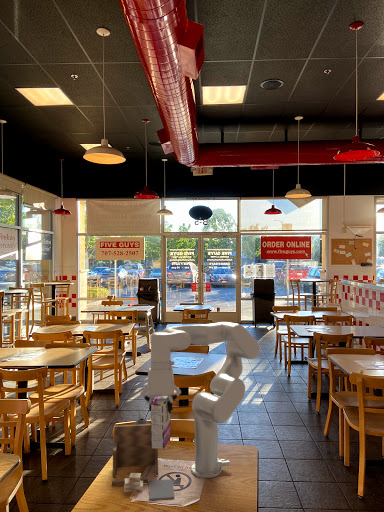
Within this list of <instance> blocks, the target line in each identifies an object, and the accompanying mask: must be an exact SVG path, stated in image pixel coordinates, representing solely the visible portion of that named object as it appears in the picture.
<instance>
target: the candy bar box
mask: <svg viewBox="0 0 384 512" xmlns="http://www.w3.org/2000/svg"><path fill="white" fill-rule="evenodd" d="M150 422H151V423H150V424H151V441H152V449H158V450H164V449H165V447H166V445H168V442H169V440H170V439H171V437H172V435H171V434H172V433H171V432H172V430H171V429H172V427H171V426H172V425H171V414H169V398H168V396H156V398H155V399H153V403H152V404H151V412H150Z"/></svg>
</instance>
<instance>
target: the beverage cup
mask: <svg viewBox="0 0 384 512" xmlns="http://www.w3.org/2000/svg"><path fill="white" fill-rule="evenodd" d="M137 410H138V419H137V420H136V421H135V422H134V424H133V425H140V424H149V422H148V421H147V419H146V418H142V417H141V412H140V408H138V409H137Z"/></svg>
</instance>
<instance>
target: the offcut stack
mask: <svg viewBox="0 0 384 512" xmlns="http://www.w3.org/2000/svg"><path fill="white" fill-rule="evenodd" d="M140 479H142V473H141V472H130V474H129V477H125V478H124V480H125V483H124V485H123V492H124V493H126V492H127V493H128V492H129V493H130V492H136V491H135V490H143V491H144V484H143V481H140Z"/></svg>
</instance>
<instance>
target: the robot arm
mask: <svg viewBox="0 0 384 512" xmlns="http://www.w3.org/2000/svg"><path fill="white" fill-rule="evenodd" d="M219 343H226V344H225V352H226V353H225V354H226V356H225V357H226V359H225V362H224V364H223V365H222V367H221V368H220V369H219V370H218V371H217V373H216V374H215V375H214V376H213V378H212V379H211V381H210V385H209V388H210V392H212V393H210V392H206V391H200V392H197V394H195V395H194V397H193V399H192V401H191V402H192V404H191V408H192V409H191V410H192V413H193V414H192V415H193V420H194V463H193V464H192V465H191V468H190V470H191V473H192V474H193V475H195V476H196V477H199V478H202V479H213V478H215V477H218V476H219V475H221V474H222V471H223V470H222V469H223V467H230V461H229V460H226V459H225V458H221V459H220V458H219V445H218V443H219V442H218V441H219V439H218V438H219V435H218V434H219V433H218V432H219V431H218V430H219V428H218V424H224V423H226V422H227V421H228V420H229V419H230V418H231V416H232V414H233V413H234V412H235V410H237V408H238V406H239V405H240V404H241V402H242V401H243V398H244V396H245V393H246V385H245V382H244V381H243V380H242V379H240V377H241V375H242V373H243V369H244V366H243V360H242V359H247V360H254V359H257V358H258V357H259V355H260V352H261V346H260V343H259V342H258V340H257V339H256V338H255V337H254V336H253V335H252V334H251V333H250V331H249V330H248V329H247V328H246V327H245V326H243V325H242V324H241V323H236V322H230V321H219V322H211V323H206V324H204V323H203V324H194V325H193V324H192V325H191V324H190V325H180V326H179V325H176V326H171V327H165V328H164V329H163V330H162V331H156V332H152V334H151V335H150V367H149V368H148V372H147V385H146V386H145V387H144V388H143V389H142V390H141V391H140V396H141V397H142V398H144V400H145V401H146V402H147V403H148V405H149V408H148V409H149V410H148V411H149V412H150V413H151V404H152V403H153V401H154V398H155V397H157V396H168V398H169V414H170V415H171V414H172V411H173V410H174V409H173V408H174V407H173V405H174V404H173V403H174V401H176V400H177V398H178V397H179V396H180V395H181V394H182V390H181V389H180V388H179V387H178V386H176V384H175V378H174V377H175V376H174V369H173V367H172V366H175V361H172V360H171V351H184V350H186V349H188V348H189V346H190V345H195V346H197V345H198V346H209V345H213V344H219ZM146 393H147V394H146Z"/></svg>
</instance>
